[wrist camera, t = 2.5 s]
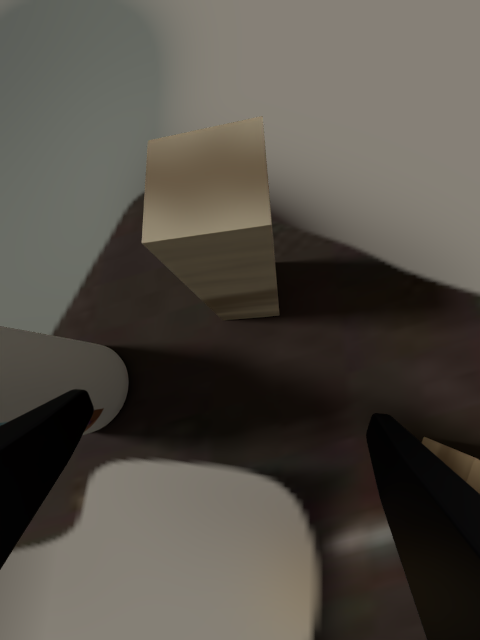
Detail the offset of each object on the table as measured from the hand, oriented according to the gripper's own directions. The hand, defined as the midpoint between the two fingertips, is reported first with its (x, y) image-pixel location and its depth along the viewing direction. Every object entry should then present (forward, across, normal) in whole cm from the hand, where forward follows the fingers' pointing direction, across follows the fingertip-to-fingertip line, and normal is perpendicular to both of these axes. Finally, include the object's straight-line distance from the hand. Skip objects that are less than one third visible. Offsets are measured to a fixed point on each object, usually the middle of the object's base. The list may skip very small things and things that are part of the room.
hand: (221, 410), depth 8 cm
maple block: (+15, 0, +2) cm, 16 cm away
